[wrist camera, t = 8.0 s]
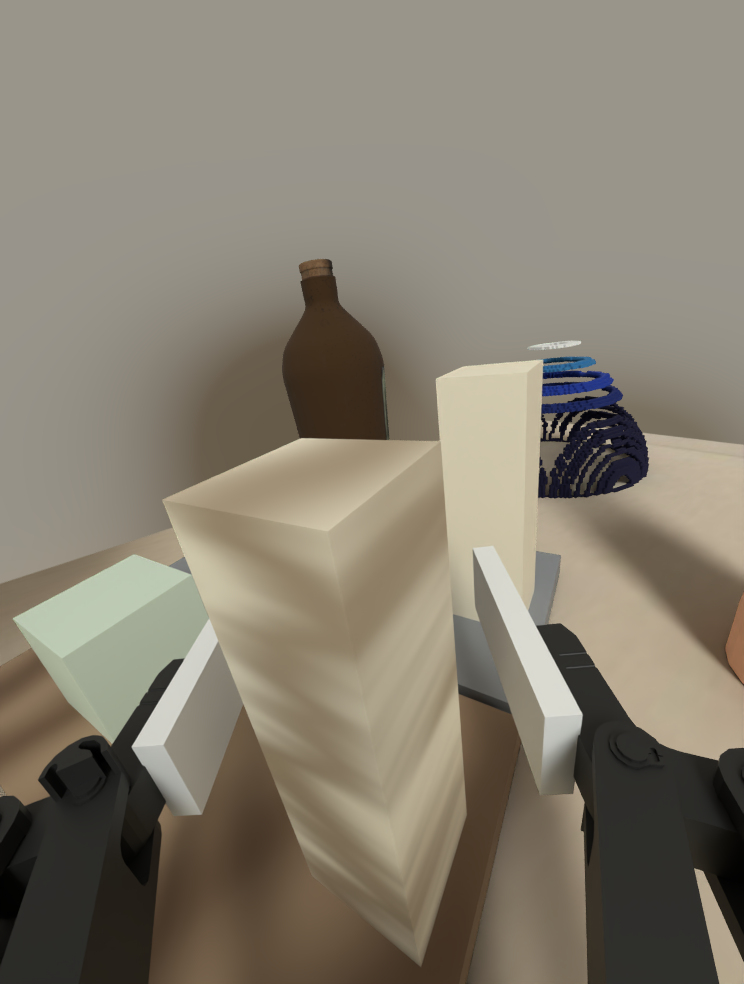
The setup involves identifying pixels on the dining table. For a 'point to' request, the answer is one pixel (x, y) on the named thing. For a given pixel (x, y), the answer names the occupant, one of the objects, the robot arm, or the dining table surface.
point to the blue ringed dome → (619, 438)
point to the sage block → (115, 636)
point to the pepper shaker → (737, 642)
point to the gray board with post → (490, 503)
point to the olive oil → (333, 366)
